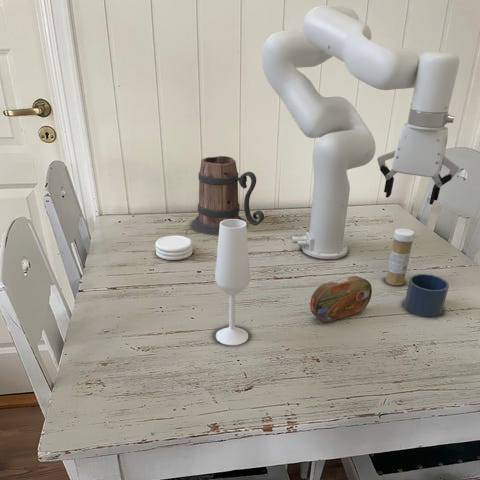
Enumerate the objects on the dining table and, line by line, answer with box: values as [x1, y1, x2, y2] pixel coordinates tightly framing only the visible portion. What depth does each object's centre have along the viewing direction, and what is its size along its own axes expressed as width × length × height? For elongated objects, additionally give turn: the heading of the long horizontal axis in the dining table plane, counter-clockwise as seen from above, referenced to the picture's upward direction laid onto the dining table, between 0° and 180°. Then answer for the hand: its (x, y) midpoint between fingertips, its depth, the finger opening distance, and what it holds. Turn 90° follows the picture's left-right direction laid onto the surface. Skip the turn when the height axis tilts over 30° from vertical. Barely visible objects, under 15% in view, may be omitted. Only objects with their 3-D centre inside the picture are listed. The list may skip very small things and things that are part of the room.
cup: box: [403, 273, 450, 318], centre depth 109 cm, size 8×8×6 cm
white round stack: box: [154, 235, 194, 261], centre depth 133 cm, size 10×10×4 cm
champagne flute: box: [214, 219, 251, 346], centre depth 93 cm, size 7×7×24 cm
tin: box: [309, 275, 373, 323], centre depth 105 cm, size 15×3×8 cm, turn 117°
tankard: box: [191, 155, 265, 236], centre depth 147 cm, size 24×17×20 cm
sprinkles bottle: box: [385, 227, 415, 287], centre depth 118 cm, size 5×5×13 cm
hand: (409, 199), depth 111 cm, fingers open, 9 cm apart
